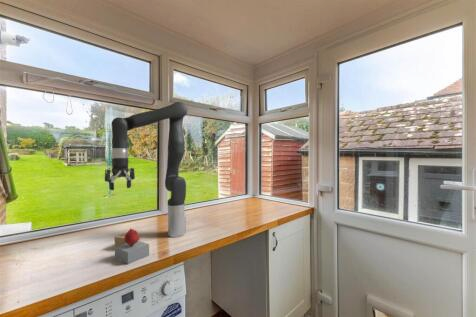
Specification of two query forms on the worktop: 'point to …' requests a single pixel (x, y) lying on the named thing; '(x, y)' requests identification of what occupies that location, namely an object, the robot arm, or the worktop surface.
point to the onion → (131, 237)
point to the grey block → (131, 252)
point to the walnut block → (120, 239)
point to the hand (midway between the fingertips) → (120, 189)
